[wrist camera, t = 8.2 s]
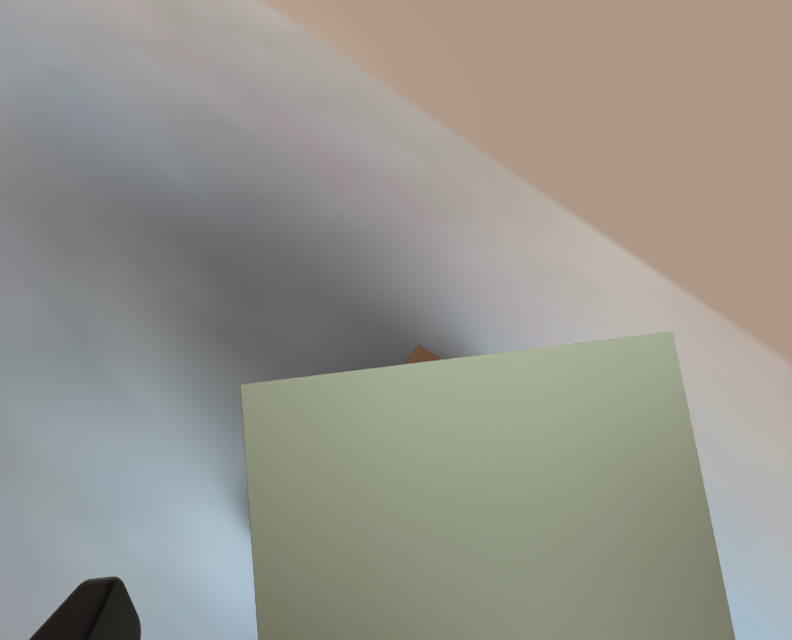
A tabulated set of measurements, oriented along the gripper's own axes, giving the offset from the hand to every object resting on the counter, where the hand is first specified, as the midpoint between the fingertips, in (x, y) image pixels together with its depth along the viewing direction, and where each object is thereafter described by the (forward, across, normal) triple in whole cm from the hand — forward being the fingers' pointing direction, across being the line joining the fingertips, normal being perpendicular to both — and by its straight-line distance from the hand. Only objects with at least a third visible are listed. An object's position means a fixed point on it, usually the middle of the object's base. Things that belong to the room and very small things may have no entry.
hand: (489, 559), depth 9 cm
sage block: (+7, 0, +7) cm, 10 cm away
